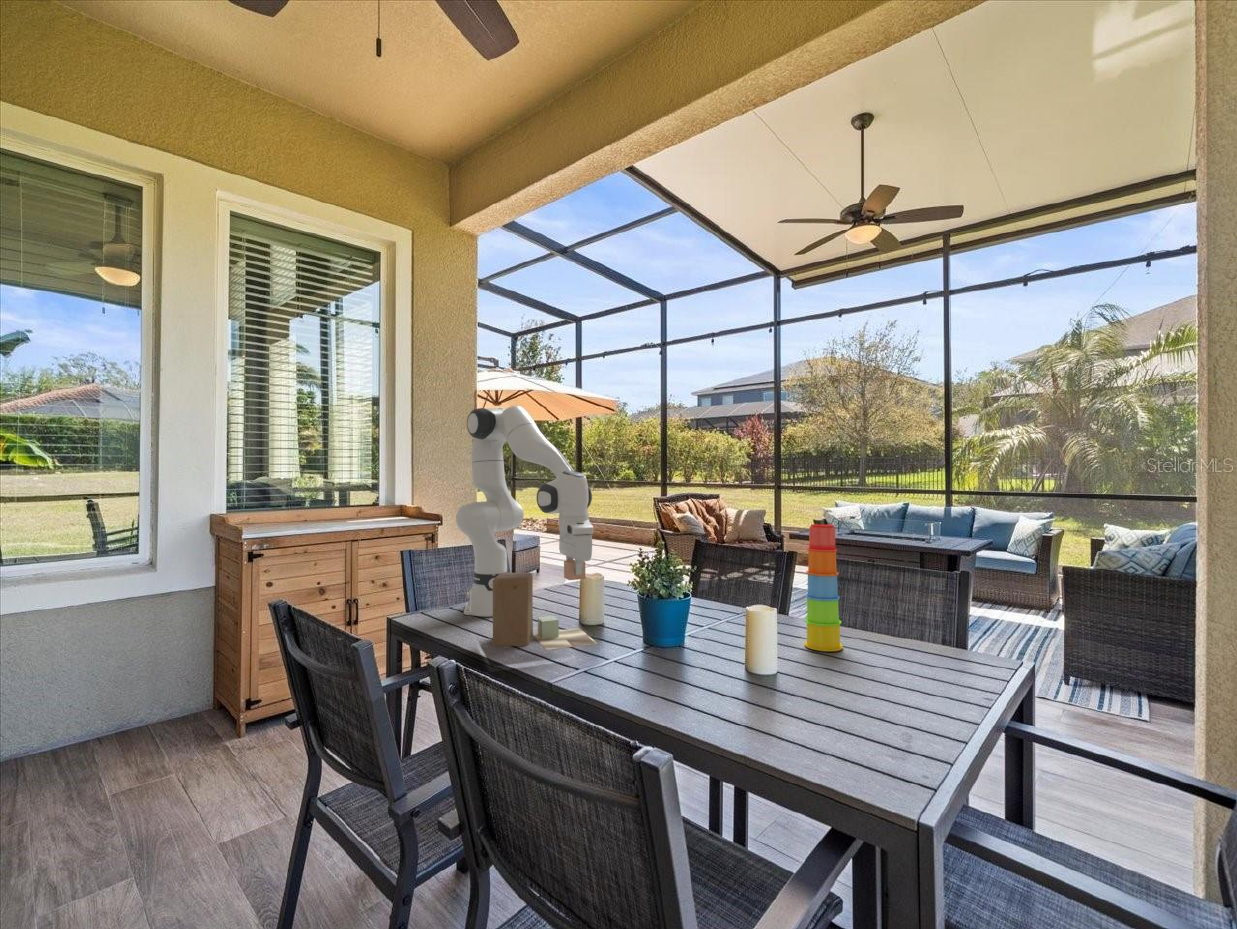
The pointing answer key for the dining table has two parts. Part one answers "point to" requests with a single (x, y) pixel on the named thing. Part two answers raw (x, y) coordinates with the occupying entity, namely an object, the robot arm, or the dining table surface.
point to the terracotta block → (569, 570)
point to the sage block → (548, 627)
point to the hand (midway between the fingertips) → (574, 572)
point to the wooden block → (512, 609)
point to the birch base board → (566, 639)
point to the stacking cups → (822, 590)
